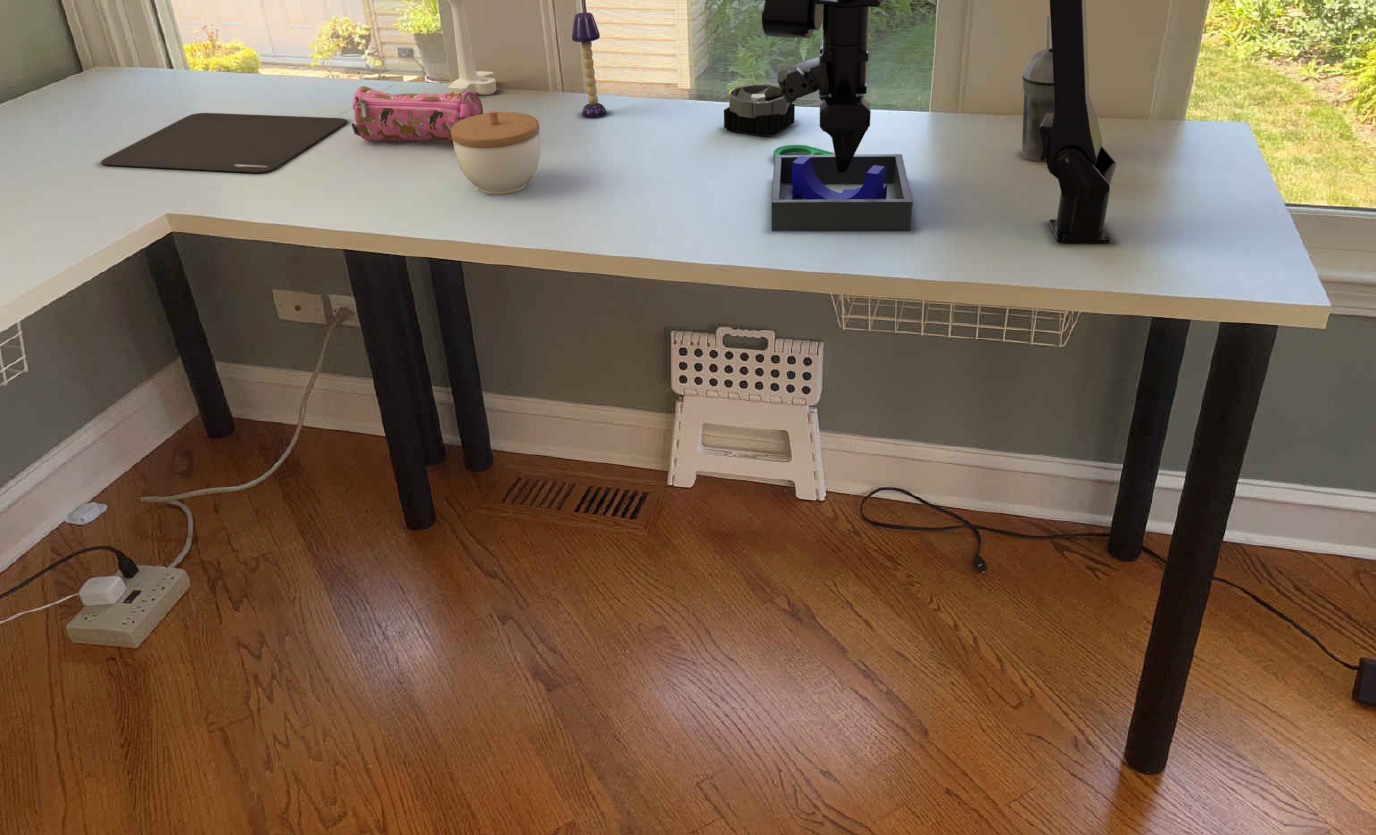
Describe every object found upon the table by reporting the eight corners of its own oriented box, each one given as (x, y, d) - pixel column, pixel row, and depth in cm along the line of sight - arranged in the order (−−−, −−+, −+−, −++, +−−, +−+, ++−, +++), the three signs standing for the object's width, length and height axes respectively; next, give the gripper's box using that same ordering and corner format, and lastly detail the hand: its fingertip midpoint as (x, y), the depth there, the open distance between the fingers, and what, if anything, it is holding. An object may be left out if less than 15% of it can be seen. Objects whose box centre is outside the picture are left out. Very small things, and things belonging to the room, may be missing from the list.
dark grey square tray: (910, 231, 143) (912, 201, 141) (771, 231, 145) (771, 202, 143) (900, 181, 158) (902, 154, 156) (774, 181, 160) (774, 155, 158)
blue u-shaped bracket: (885, 205, 151) (888, 163, 147) (874, 217, 147) (877, 174, 144) (804, 193, 155) (805, 152, 152) (791, 204, 152) (792, 162, 149)
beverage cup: (1065, 165, 161) (1086, 23, 150) (1013, 163, 162) (1031, 23, 151) (1061, 148, 167) (1081, 11, 156) (1011, 147, 168) (1028, 10, 157)
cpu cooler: (747, 80, 184) (801, 87, 179) (747, 114, 187) (801, 121, 182) (716, 97, 177) (772, 104, 172) (717, 132, 180) (772, 140, 175)
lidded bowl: (464, 206, 156) (452, 130, 150) (455, 177, 167) (444, 104, 161) (552, 194, 159) (543, 119, 153) (538, 166, 169) (530, 94, 163)
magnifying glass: (767, 163, 166) (767, 152, 165) (781, 150, 171) (781, 140, 170) (865, 174, 161) (866, 163, 160) (876, 160, 165) (877, 149, 164)
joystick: (474, 82, 210) (458, -29, 199) (509, 85, 208) (495, -28, 197) (444, 99, 201) (425, -16, 190) (480, 102, 199) (463, -15, 188)
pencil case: (351, 148, 180) (339, 94, 175) (379, 130, 187) (368, 77, 183) (471, 155, 175) (462, 99, 170) (494, 136, 182) (487, 82, 177)
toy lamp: (575, 117, 189) (565, 16, 180) (585, 109, 193) (576, 10, 184) (601, 118, 188) (592, 17, 179) (610, 110, 192) (603, 11, 183)
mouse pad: (94, 164, 178) (94, 163, 178) (194, 113, 200) (194, 112, 199) (268, 173, 171) (267, 172, 171) (351, 119, 193) (351, 118, 193)
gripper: (782, 24, 148) (781, 137, 156) (779, 61, 132) (779, 185, 141) (866, 22, 147) (861, 137, 155) (873, 60, 131) (867, 185, 140)
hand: (840, 159), depth 148 cm, fingers open, 9 cm apart
